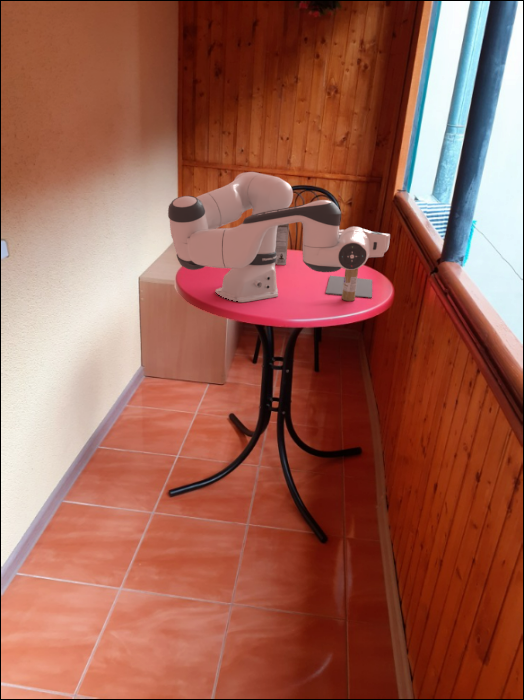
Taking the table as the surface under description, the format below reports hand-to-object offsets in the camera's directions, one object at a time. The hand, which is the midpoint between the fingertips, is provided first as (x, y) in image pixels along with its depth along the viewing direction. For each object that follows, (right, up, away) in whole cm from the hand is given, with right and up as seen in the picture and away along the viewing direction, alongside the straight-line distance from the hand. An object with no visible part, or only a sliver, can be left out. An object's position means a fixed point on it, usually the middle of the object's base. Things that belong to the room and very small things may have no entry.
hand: (355, 233), depth 172 cm
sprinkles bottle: (+1, -18, +21) cm, 28 cm away
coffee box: (-22, +1, +62) cm, 66 cm away
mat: (+4, -13, +34) cm, 37 cm away
